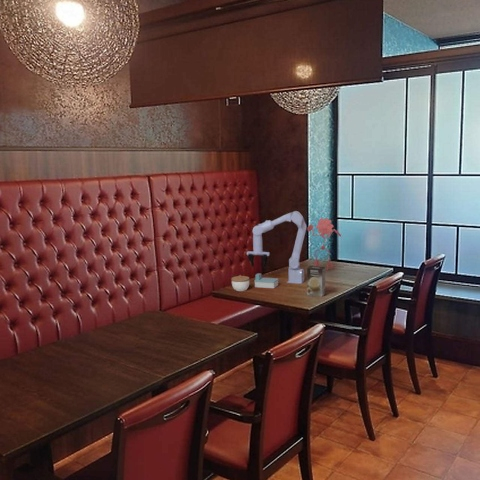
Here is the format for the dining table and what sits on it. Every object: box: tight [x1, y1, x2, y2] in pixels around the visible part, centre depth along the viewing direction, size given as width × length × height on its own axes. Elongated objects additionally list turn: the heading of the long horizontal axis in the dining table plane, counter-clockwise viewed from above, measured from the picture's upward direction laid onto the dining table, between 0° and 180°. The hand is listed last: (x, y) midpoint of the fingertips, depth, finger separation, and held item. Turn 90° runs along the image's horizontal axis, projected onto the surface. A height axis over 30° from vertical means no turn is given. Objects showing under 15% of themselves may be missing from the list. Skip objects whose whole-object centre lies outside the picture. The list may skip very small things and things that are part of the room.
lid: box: [254, 272, 279, 283], centre depth 318 cm, size 13×9×4 cm
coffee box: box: [306, 265, 326, 298], centre depth 297 cm, size 9×6×16 cm
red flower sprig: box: [306, 217, 342, 271], centre depth 361 cm, size 15×26×35 cm, turn 54°
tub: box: [254, 280, 279, 289], centre depth 319 cm, size 12×8×4 cm, turn 67°
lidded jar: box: [230, 274, 250, 292], centre depth 312 cm, size 11×11×9 cm
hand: (258, 266), depth 328 cm, fingers open, 7 cm apart
